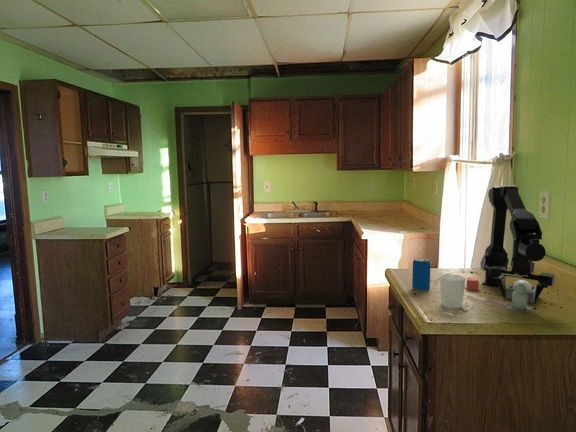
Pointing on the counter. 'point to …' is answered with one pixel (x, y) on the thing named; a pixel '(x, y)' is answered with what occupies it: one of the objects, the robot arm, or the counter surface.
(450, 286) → the white cup
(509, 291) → the grey square tray
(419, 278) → the beverage can
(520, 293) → the pawn
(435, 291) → the counter surface
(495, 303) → the game track
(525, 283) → the dome
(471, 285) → the red die
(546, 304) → the counter surface
